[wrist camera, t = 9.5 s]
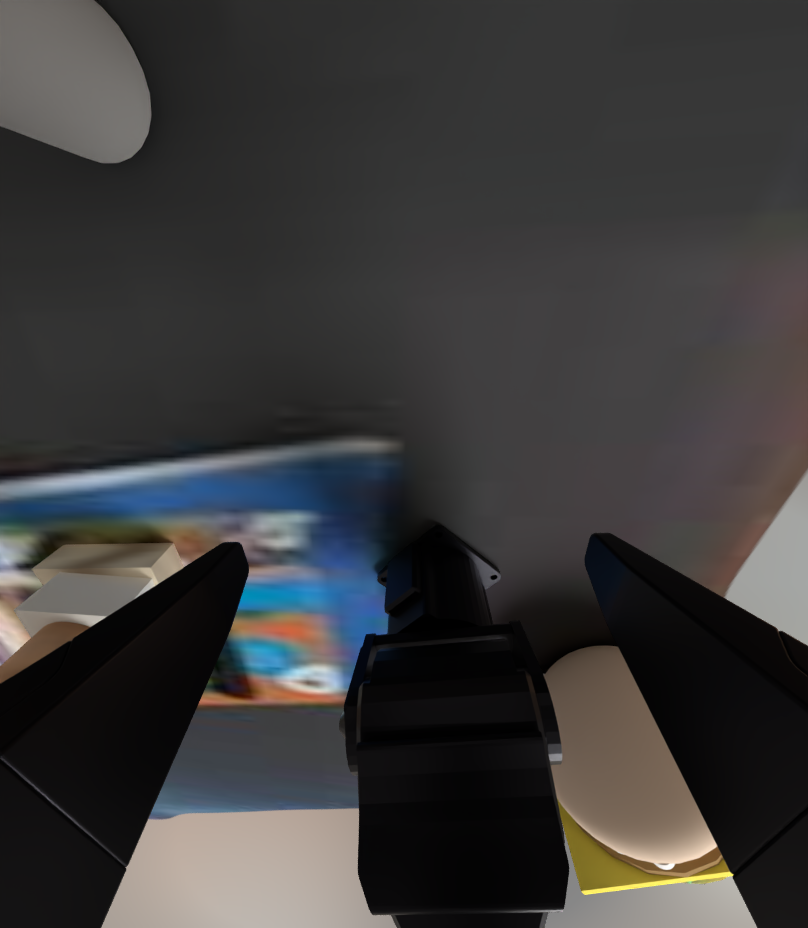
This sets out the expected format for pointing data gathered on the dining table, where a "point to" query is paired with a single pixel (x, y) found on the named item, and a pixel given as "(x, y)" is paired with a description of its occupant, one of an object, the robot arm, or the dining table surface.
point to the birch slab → (112, 561)
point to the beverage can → (71, 79)
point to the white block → (79, 599)
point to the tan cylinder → (40, 646)
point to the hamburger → (622, 783)
